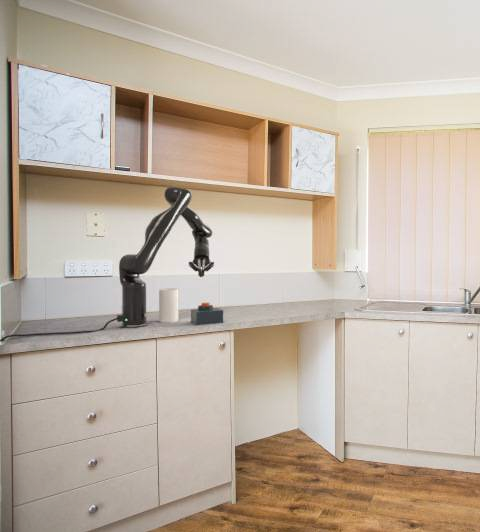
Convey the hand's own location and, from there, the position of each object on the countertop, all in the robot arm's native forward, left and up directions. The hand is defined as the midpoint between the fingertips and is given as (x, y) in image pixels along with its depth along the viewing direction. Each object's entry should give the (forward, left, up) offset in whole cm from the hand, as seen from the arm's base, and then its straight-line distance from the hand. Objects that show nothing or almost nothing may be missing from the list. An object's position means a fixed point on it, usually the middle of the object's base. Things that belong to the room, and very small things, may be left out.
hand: (201, 276), depth 208 cm
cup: (-16, -4, -22) cm, 28 cm away
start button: (-2, -15, -14) cm, 21 cm away
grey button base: (-2, -18, -22) cm, 29 cm away
